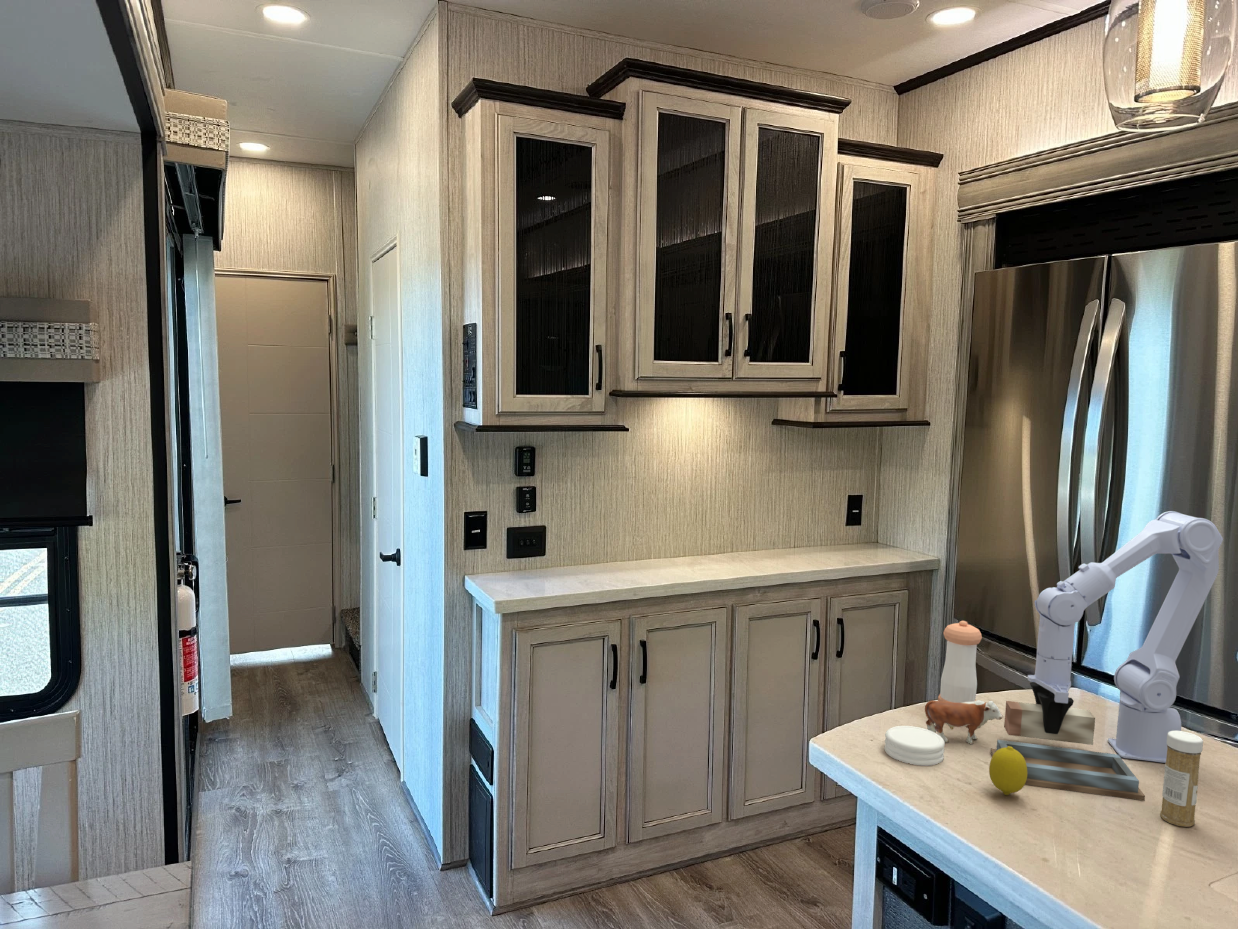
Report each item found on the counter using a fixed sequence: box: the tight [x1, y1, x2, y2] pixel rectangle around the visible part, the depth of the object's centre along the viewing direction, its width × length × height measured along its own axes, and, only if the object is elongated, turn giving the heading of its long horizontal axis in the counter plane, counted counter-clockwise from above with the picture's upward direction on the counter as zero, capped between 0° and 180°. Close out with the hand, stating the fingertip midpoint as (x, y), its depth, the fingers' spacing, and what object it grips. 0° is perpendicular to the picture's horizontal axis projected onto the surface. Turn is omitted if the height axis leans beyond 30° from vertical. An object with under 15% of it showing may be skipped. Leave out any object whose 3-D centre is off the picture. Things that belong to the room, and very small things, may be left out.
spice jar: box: [1159, 730, 1204, 827], centre depth 132 cm, size 5×5×13 cm
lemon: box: [988, 746, 1027, 796], centre depth 139 cm, size 6×6×8 cm
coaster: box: [884, 725, 946, 767], centre depth 154 cm, size 10×10×4 cm
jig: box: [990, 739, 1146, 802], centre depth 147 cm, size 21×12×3 cm, turn 76°
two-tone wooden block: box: [1003, 700, 1096, 746], centre depth 158 cm, size 14×4×5 cm, turn 76°
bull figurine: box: [924, 699, 1004, 745], centre depth 160 cm, size 4×13×8 cm, turn 79°
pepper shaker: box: [937, 620, 983, 703], centre depth 172 cm, size 7×7×19 cm
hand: (1048, 728), depth 159 cm, fingers closed on two-tone wooden block, 4 cm apart
